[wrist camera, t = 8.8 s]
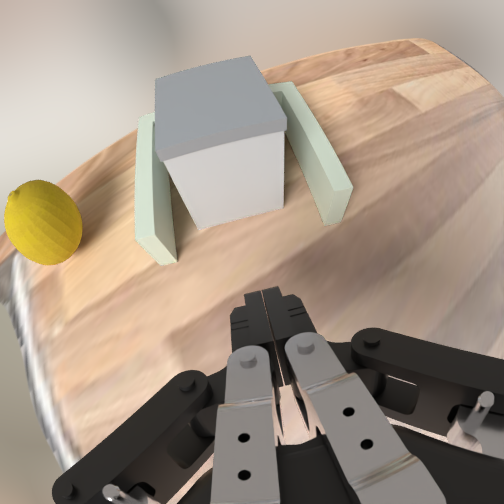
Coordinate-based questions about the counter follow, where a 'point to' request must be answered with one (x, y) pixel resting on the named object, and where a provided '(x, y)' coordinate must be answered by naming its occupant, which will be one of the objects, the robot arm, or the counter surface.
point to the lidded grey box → (221, 140)
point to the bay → (304, 147)
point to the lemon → (43, 222)
